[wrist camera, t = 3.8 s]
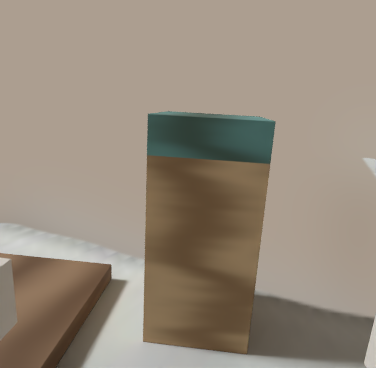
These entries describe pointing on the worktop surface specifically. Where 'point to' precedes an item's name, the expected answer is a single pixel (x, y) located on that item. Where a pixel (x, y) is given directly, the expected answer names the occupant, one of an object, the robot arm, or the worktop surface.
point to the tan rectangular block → (204, 227)
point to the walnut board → (49, 308)
